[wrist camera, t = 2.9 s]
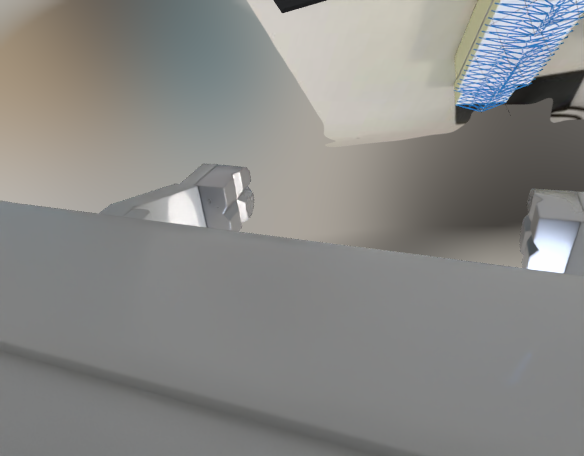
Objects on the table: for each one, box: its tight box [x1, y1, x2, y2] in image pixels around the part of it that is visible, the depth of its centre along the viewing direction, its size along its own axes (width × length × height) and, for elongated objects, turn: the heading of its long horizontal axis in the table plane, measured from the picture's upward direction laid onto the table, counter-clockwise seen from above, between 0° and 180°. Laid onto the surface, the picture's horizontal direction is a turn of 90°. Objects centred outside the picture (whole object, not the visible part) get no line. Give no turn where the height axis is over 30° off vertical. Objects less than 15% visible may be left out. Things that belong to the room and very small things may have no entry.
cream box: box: [454, 0, 584, 112], centre depth 81 cm, size 45×15×10 cm, turn 7°
